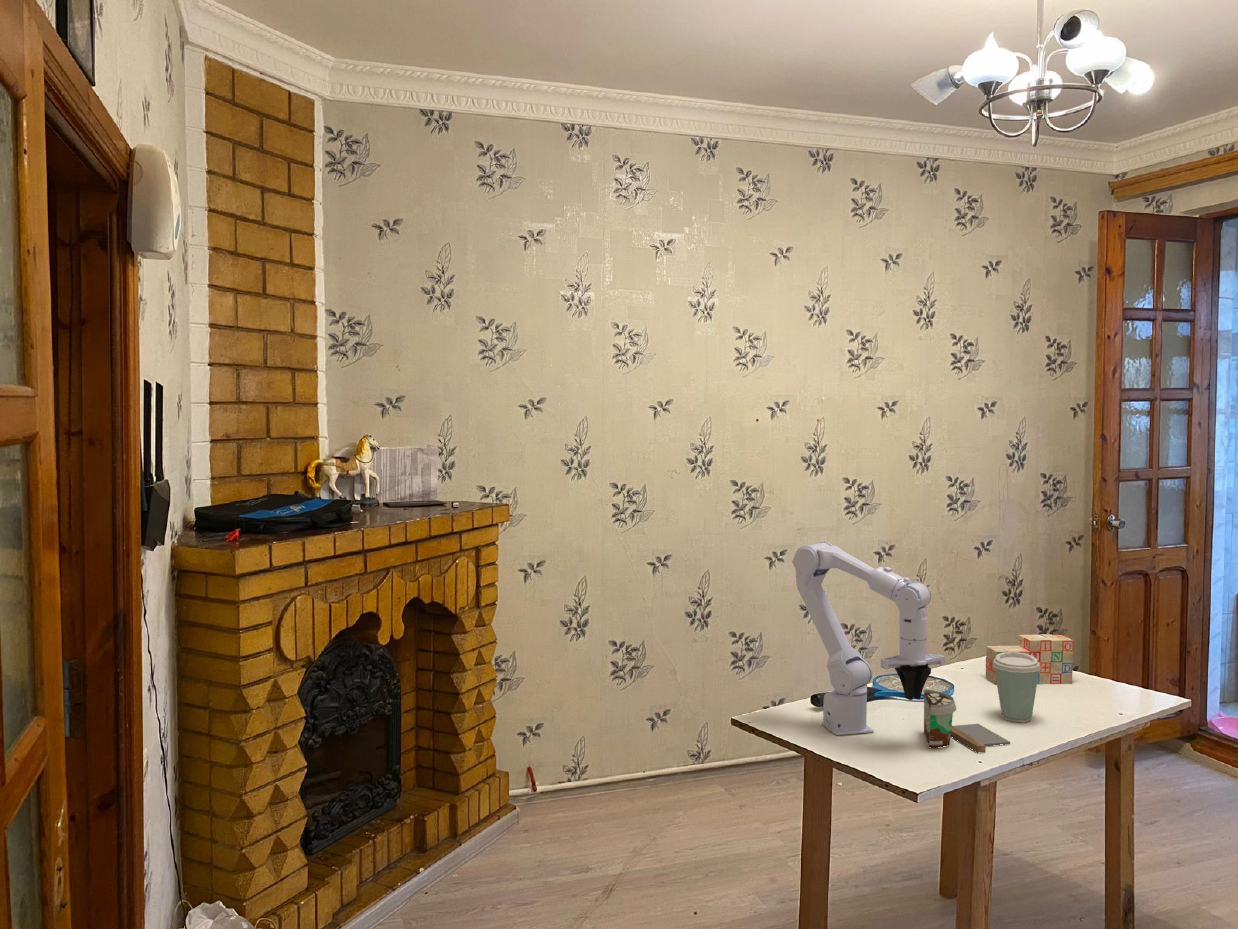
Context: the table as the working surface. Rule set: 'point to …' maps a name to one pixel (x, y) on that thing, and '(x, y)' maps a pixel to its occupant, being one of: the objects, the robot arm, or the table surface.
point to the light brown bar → (967, 740)
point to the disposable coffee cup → (1016, 684)
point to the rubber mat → (982, 734)
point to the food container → (938, 718)
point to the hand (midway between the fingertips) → (912, 698)
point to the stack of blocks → (1040, 657)
